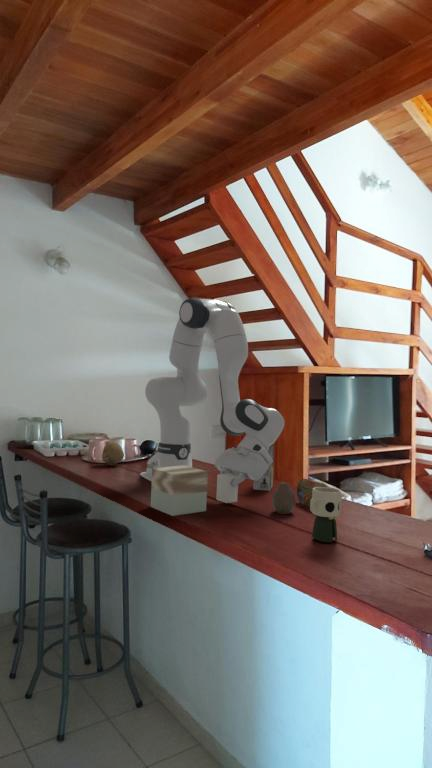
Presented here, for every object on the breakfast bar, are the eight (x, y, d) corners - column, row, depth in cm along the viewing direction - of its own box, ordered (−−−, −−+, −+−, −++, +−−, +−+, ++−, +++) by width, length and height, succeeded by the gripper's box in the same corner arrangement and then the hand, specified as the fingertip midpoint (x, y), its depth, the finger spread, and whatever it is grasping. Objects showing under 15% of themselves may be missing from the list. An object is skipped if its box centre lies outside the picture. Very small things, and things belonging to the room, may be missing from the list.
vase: (296, 511, 170) (298, 482, 170) (292, 516, 164) (293, 486, 163) (274, 508, 172) (275, 480, 172) (269, 513, 166) (270, 484, 166)
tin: (295, 501, 184) (296, 476, 183) (303, 501, 185) (304, 475, 185) (322, 512, 170) (323, 485, 170) (330, 512, 171) (332, 484, 171)
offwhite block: (216, 499, 176) (217, 474, 176) (227, 498, 179) (228, 473, 179) (226, 503, 172) (227, 477, 172) (237, 501, 175) (238, 476, 175)
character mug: (319, 547, 135) (322, 494, 134) (298, 539, 140) (301, 488, 140) (349, 541, 141) (352, 490, 141) (328, 534, 147) (330, 485, 146)
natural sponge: (127, 465, 240) (128, 442, 240) (117, 468, 231) (118, 444, 231) (108, 463, 243) (109, 440, 242) (98, 466, 234) (98, 442, 234)
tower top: (151, 487, 168) (152, 468, 168) (183, 484, 176) (184, 465, 175) (173, 495, 159) (174, 474, 159) (207, 491, 166) (207, 471, 166)
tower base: (150, 507, 168) (151, 487, 168) (183, 503, 176) (184, 484, 176) (172, 516, 159) (173, 495, 159) (206, 511, 166) (206, 491, 166)
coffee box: (255, 484, 208) (257, 442, 208) (272, 486, 207) (274, 443, 207) (252, 489, 199) (254, 445, 199) (270, 491, 198) (272, 446, 198)
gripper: (225, 440, 187) (201, 471, 182) (267, 448, 171) (241, 483, 165) (235, 452, 190) (211, 483, 184) (277, 462, 174) (252, 496, 168)
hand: (225, 483), depth 175 cm, fingers closed on offwhite block, 5 cm apart
